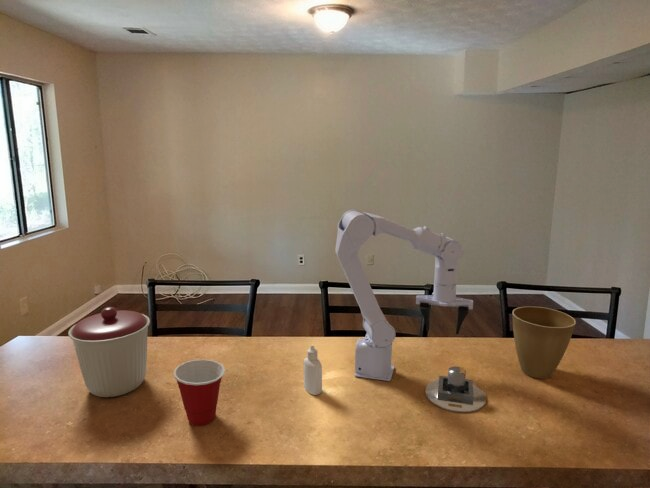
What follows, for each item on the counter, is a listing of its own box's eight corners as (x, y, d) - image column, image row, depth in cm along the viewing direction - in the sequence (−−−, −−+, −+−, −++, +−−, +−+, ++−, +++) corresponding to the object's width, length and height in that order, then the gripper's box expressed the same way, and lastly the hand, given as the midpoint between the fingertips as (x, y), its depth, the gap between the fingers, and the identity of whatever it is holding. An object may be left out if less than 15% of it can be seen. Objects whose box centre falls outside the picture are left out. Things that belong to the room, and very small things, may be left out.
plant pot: (554, 393, 110) (561, 332, 107) (496, 370, 121) (501, 314, 117) (577, 373, 120) (585, 316, 116) (522, 354, 131) (528, 301, 127)
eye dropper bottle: (320, 383, 115) (320, 339, 112) (322, 395, 109) (322, 350, 107) (303, 384, 114) (303, 340, 112) (304, 396, 109) (303, 350, 106)
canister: (168, 385, 114) (161, 306, 109) (93, 416, 101) (82, 328, 97) (136, 362, 126) (129, 290, 122) (65, 387, 113) (54, 308, 109)
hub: (423, 406, 104) (424, 396, 104) (427, 377, 118) (427, 368, 117) (487, 416, 101) (488, 406, 100) (484, 385, 114) (484, 375, 113)
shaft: (446, 387, 111) (447, 365, 110) (462, 389, 111) (464, 366, 109) (447, 396, 108) (449, 373, 106) (465, 398, 107) (467, 374, 106)
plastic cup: (225, 431, 96) (222, 380, 93) (173, 435, 94) (168, 383, 92) (229, 402, 106) (226, 356, 104) (182, 406, 105) (178, 359, 102)
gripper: (415, 285, 116) (413, 333, 119) (474, 289, 112) (471, 340, 115) (418, 277, 123) (416, 323, 126) (473, 281, 119) (470, 329, 122)
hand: (442, 331), depth 121 cm, fingers open, 7 cm apart
